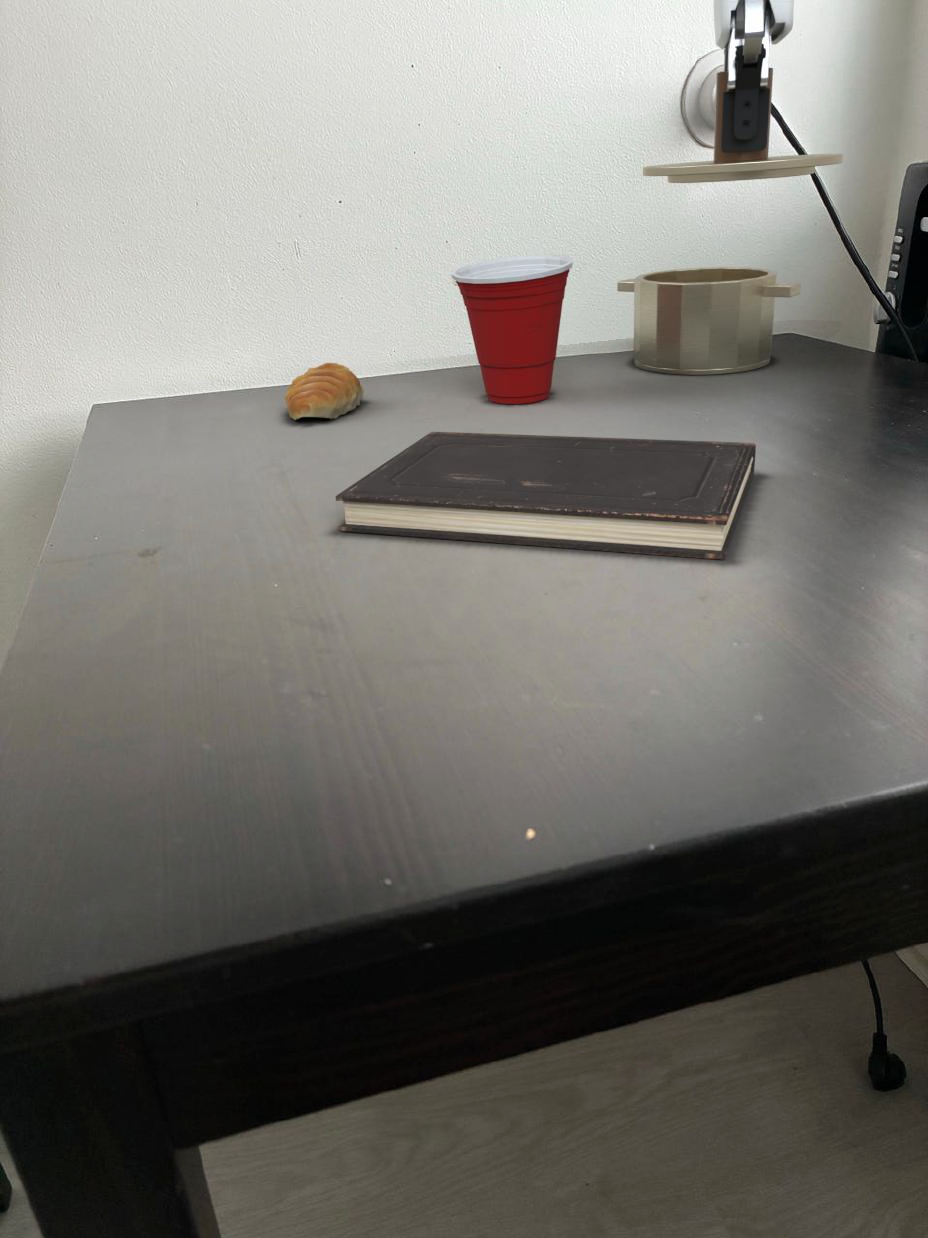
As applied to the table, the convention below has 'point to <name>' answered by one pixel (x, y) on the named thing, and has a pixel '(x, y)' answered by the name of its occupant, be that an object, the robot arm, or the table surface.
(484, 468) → the hardcover book
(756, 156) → the lid
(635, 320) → the pot
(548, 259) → the plastic cup
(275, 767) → the table surface
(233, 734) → the table surface
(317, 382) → the pastry
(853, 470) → the table surface
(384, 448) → the table surface
